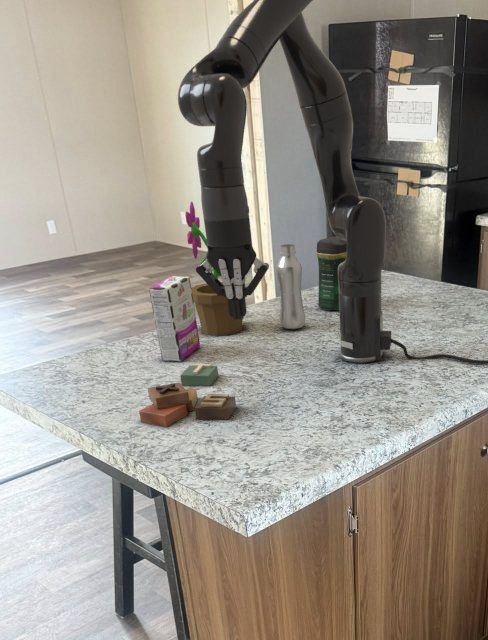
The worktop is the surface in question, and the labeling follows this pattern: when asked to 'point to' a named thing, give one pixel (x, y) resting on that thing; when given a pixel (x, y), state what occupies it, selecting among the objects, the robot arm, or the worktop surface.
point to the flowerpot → (209, 291)
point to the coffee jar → (330, 270)
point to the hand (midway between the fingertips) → (238, 318)
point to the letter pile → (168, 404)
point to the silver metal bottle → (290, 288)
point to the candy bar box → (175, 318)
